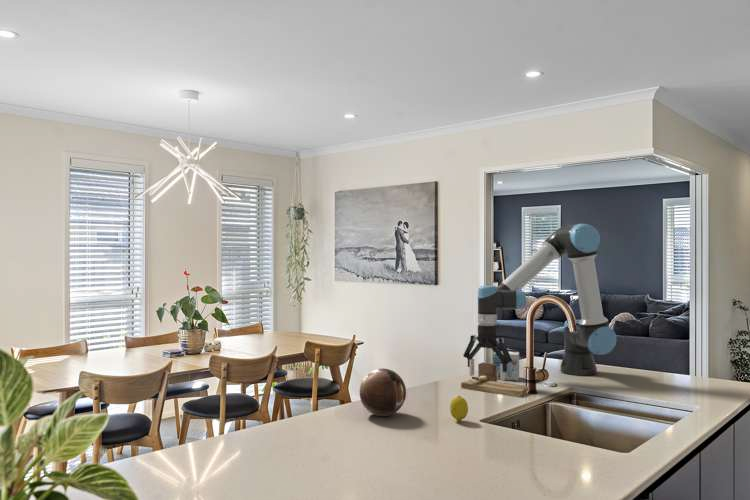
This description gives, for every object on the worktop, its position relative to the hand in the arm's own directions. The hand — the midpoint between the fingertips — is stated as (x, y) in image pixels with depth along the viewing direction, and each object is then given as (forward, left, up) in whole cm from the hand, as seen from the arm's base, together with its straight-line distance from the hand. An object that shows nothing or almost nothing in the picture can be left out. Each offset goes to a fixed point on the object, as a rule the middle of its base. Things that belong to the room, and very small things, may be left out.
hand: (486, 377), depth 235 cm
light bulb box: (-15, +1, -3) cm, 15 cm away
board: (+7, +7, -3) cm, 10 cm away
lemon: (+52, +17, -3) cm, 55 cm away
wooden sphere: (+61, -6, -3) cm, 61 cm away
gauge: (+5, 0, -3) cm, 5 cm away
